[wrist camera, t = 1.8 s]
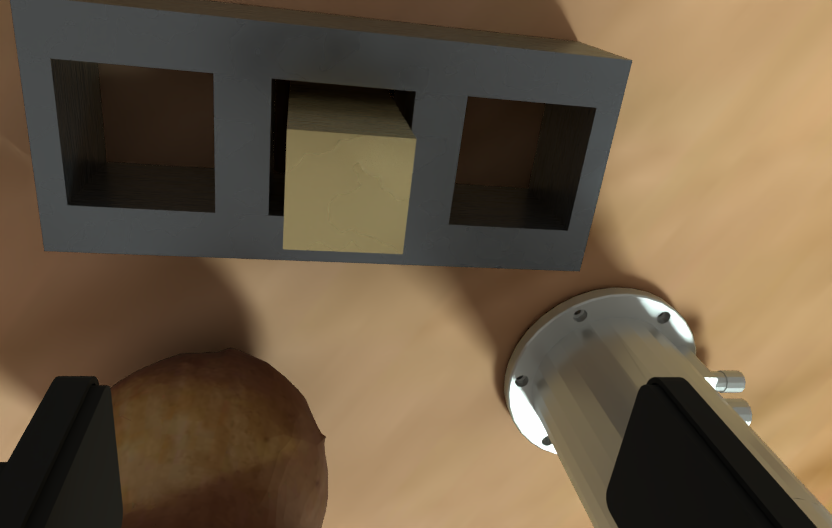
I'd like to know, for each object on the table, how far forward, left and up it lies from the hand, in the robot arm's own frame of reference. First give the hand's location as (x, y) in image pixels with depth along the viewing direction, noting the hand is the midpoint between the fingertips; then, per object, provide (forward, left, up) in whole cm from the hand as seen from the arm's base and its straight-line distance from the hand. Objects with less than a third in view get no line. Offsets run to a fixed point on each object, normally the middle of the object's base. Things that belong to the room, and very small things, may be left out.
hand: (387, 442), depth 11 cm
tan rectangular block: (0, 0, -24) cm, 24 cm away
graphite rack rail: (0, 0, -24) cm, 24 cm away
